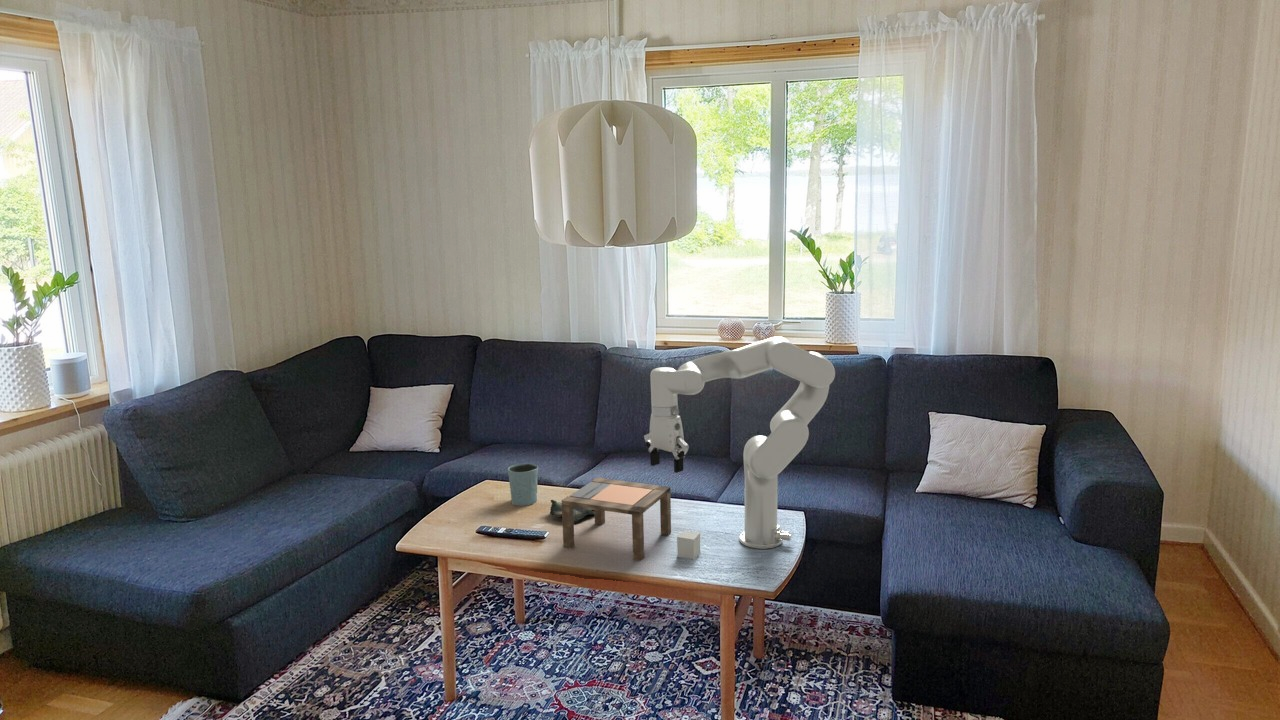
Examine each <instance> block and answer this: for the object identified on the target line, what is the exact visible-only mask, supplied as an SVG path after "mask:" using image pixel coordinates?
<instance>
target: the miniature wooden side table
mask: <svg viewBox="0 0 1280 720" xmlns="http://www.w3.org/2000/svg"><path fill="white" fill-rule="evenodd" d="M590 482H597V483H605V484H614V485H622V486H629V487H637V488H644V489H652V490H653V491H652V492H651V493H649V494H648V495H647V496H645V497H644V498H643V499H642V500H640V501H639V502H638V503H636V504H635V505H634V506H631V505H624V504H617V503H610V502H604V501H597V500H590V499H583V498H576V497H569V496H570V495H569V496H566V497H565V498H562V499H561V503H562V516H561V518H562V519H561V521H562V523H561V525H562V539H563V540H562V541H563V544H562V545H563V546H562V547H563V548H565V549H572V548H573V547H575V546H576V545H575V544H576V543H575V525H574V517H573V506H577V507H583V508H590V509H594V514H593V515H594V524H595V525H598V526H599V525H601V526H602V525H604V524H605V523H606V513H605V512H611V513H618V514H619V513H620V514H625V515H631V527H632V528H631V531H632V532H631V535H632V560H635V561H640V562H642V560H643V559H644V558H645V534H644V531H645V530H644V529H645V528H644V513H645V512H646V511H647V510H650V508H651V507H652V506H654V505H655V504H656V503H657V502H659V505H660V506H659V510H660V512H659V515H660V517H659V518H660V535H661V536H662V535H663V536H669V535H671V533H672V507H671V506H672V505H671V503H672V502H671V500H672V499H671V487H670V486H664V485H658V484H649V483H641V482H634V481H626V480H620V479H619V480H618V479H610V478H603V477H595V478H593V480H591V481H590Z"/></svg>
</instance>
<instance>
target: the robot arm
mask: <svg viewBox="0 0 1280 720" xmlns="http://www.w3.org/2000/svg"><path fill="white" fill-rule="evenodd" d="M772 369H774V371H777V372H778V373H781V374H783V375H785V376H787V377H790V378H792V379H794V380H795V381H798V382H799V384H798V387H797V389H796V391H794V393H793V394H792V396H791V397H790V398H789V399H788V400H787V402H786V403H785V404H784V405H783V406H782V407H781V408H780V409H779V410H778V411H777V412H776V413H775V414H774V416H772V418H771V420H770V422H769V429H770V432H771V433H770V434H769V435H768V436H766V435H759V434H758V435H754V436H752V437H751V438H750V439H748V440H747V441H746V443H745V445H744V447H743V448H744V449H743V457H742V458H743V470H744V471H743V472H744V531H742V532H741V533H740V534H739V538H738V540H739V542H740V543H741V544H742V545H743V546H746V547H749V548H752V549H759V550H760V549H761V550H764V549H772V548H776V547H779V546H780V545H781V544H782V543H783V540H784V541H787V542H790V541H791V540H792V534H791V533H790V531H787V530H782V529H781V525H780V524H778V490H779V489H778V488H779V487H778V484H779V483H778V480H779V479H778V475H779V474H780V473H781V472H782V471H784V469H785V468H786V467H787V466H788V465H789V464H790V463H791V462H792V461H793V460H794V459H795V457H797V455H799V453H800V452H801V451H802V450H803V448H804V447H805V445H806V444H807V441H809V435H810V431H809V427H808V425H809V423H810V422H811V421H812V420H813V419H814V418H815V416H816V415H817V414H818V413H819V411H820V410H821V409H822V407H823V406H824V405H825V403H826V401H827V399H828V395H829V392H830V391H829V390H830V385H831V384H832V383H833V382H834V380H835V377H836V369H835V367H834V365H833V363H832V362H831V361H830V360H829V359H828V358H826V356H824V355H823V354H821V353H820V352H818V351H817V352H816V351H808V350H805V349H803V348H801V347H799V346H798V345H795V344H793V343H792V342H791V341H789V339H788V338H785V337H783V336H780V335H779V336H771V337H769V338H766V339H763V340H760V341H756V342H753V343H751V344H748V345H744V346H742V347H739V348H735V349H729V350H726V351H722V352H718V353H712V354H708V355H705V356H701V357H698V358H695V359H692V360H689V361H687V362H685V363H683V364H682V365H680V366H679V367H678V368H677V370H676V369H674V368H673V367H669V366H668V367H667V366H663V367H656V368H653V369H652V370H651V372H650V396H651V397H650V400H651V415H650V419H649V433H647V434H645V435H643V438H644V441H645V445H646V447H647V448H648V452H649V454H650V455H649V456H650V457H649V458H650V461H649V462H650V466H651V467H654V466H657V465H660V464H661V460H660V459H661V457H660V456H661V455H660V450H662V451H665V452H670V453H672V455H673V456H674V459H673V471H674V473H676V474H679V473H680V472H683V471H684V458H685V457H686V455H687V454H688V451H689V448H690V446H689V444H688V443H687V442H686V441H685V438H684V437H685V436H684V429H683V422H682V419H681V415H679V414H680V409H679V404H678V395H687V396H688V395H689V396H694V395H697V394H699V393H701V392H702V390H703V389H704V387H705V385H706V383H707V382H710V381H713V380H719V379H725V378H730V379H737V380H738V379H745V378H748V377H751V376H754V375H758V374H761V373H763V372H766V371H769V370H772Z"/></svg>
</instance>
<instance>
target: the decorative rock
mask: <svg viewBox="0 0 1280 720" xmlns="http://www.w3.org/2000/svg"><path fill="white" fill-rule="evenodd" d="M550 503H551V505H550V512H549V515H551V516H552V517H559V518H560V517H561V518H562V502H560V501H557V500H554V499H550ZM588 515H594V509H590V508H586V509H585V510H584V511H582V510H575V509H573V517H574V526H575V525H577V524H578V523H579V521H580V520H582V519H584V517H586V516H588Z"/></svg>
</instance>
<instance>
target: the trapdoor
mask: <svg viewBox="0 0 1280 720" xmlns="http://www.w3.org/2000/svg"><path fill="white" fill-rule="evenodd" d="M652 491H653V490H652V489H644V488H637V487H629V486H622V485H614V484H605V483H597V482H591V481H590V482H589V483H587V484H586V485H584V486H582V487H581V488H579V489H577V490H576V491H575V492H573V493H572V494H570V495H569V497H576V498H583V499H590V500H597V501H604V502H610V503H617V504H624V505H631V506H634V505H635V504H636V503H638V502H639V501H640V500H642V499H643V498H644V497H645V496H647V495H648V494H649V493H651V492H652ZM573 509H575V510H582V511H584V510H585V509H586V508H583V507H577V506H573Z"/></svg>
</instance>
